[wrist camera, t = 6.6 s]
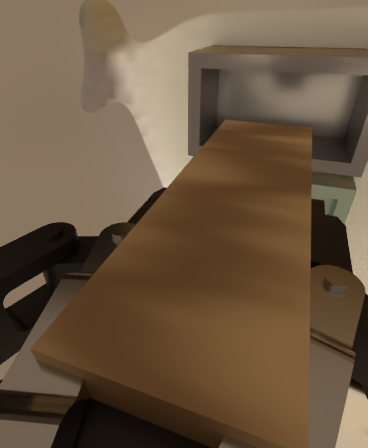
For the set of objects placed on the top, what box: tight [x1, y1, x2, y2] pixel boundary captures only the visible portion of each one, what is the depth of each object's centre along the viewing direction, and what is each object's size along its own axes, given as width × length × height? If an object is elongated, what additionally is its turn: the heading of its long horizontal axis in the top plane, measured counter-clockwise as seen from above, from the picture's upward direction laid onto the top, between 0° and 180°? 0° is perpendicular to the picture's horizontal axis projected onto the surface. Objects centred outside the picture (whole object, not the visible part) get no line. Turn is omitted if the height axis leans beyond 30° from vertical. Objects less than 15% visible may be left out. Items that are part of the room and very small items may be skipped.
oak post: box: [30, 120, 312, 448], centre depth 10 cm, size 4×4×13 cm
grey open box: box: [188, 46, 368, 177], centre depth 25 cm, size 14×8×7 cm, turn 91°
